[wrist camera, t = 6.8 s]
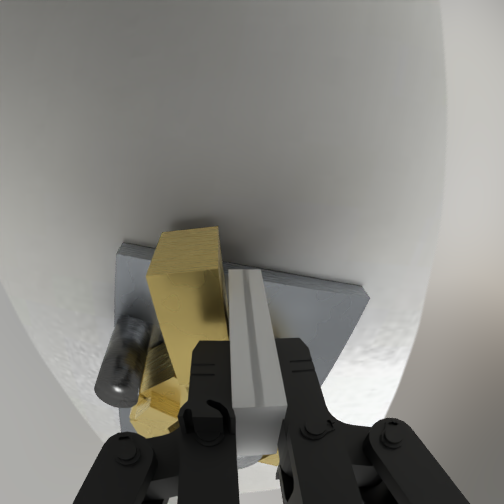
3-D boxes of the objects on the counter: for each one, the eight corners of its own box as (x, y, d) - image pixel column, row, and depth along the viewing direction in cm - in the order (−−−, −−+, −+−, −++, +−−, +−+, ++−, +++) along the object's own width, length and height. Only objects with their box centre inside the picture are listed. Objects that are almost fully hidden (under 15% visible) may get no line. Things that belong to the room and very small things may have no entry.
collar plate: (123, 242, 15) (79, 322, 9) (361, 286, 17) (411, 362, 12) (123, 420, 21) (112, 485, 16) (277, 437, 24) (288, 498, 18)
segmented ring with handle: (298, 420, 20) (309, 466, 17) (163, 432, 20) (160, 477, 16) (306, 217, 13) (337, 262, 10) (84, 242, 13) (47, 290, 9)
